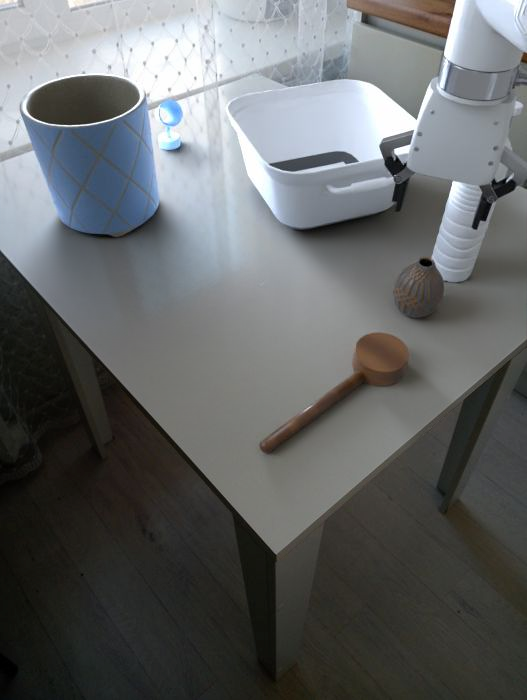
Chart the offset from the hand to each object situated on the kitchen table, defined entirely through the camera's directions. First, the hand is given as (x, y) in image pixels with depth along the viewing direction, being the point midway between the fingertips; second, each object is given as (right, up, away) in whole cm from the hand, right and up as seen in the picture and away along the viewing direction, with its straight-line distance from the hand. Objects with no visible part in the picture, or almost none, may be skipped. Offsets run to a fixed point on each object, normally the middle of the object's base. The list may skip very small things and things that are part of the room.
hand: (436, 215), depth 70 cm
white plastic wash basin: (-12, +11, +32) cm, 35 cm away
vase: (0, -11, +12) cm, 16 cm away
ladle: (-13, -23, +1) cm, 26 cm away
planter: (-50, +8, +30) cm, 58 cm away
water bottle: (+8, -4, +18) cm, 21 cm away
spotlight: (-41, +26, +45) cm, 67 cm away
